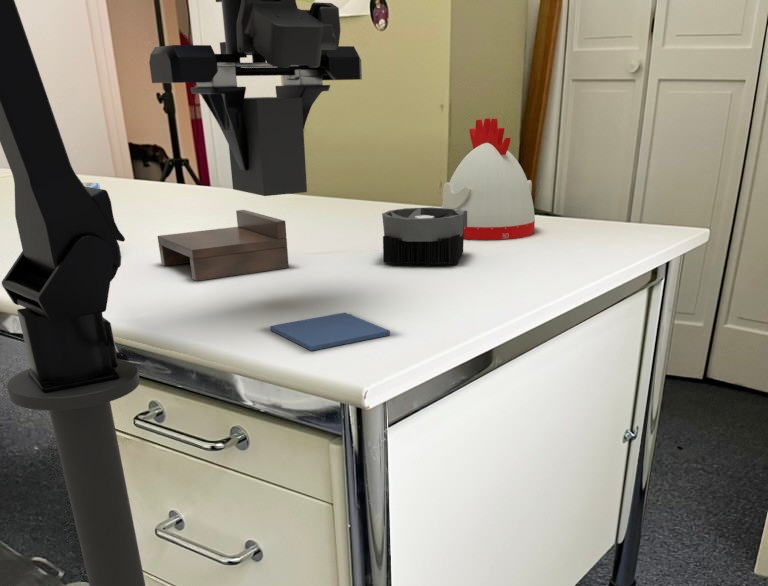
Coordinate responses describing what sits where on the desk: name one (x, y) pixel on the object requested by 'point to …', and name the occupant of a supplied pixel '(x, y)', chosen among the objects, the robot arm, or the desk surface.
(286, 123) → the dark grey block
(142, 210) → the desk surface
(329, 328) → the rubber mat
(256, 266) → the desk shelf
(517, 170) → the kitchen timer
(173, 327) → the desk surface
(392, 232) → the cpu cooler
